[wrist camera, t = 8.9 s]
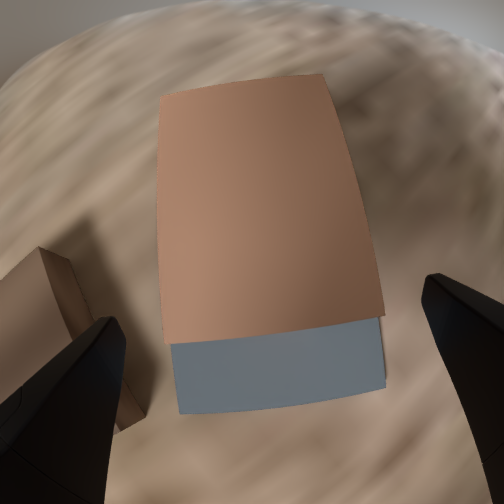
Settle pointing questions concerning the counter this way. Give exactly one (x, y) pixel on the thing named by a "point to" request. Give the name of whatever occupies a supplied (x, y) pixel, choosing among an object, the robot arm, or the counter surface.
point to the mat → (279, 368)
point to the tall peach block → (259, 213)
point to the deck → (45, 324)
